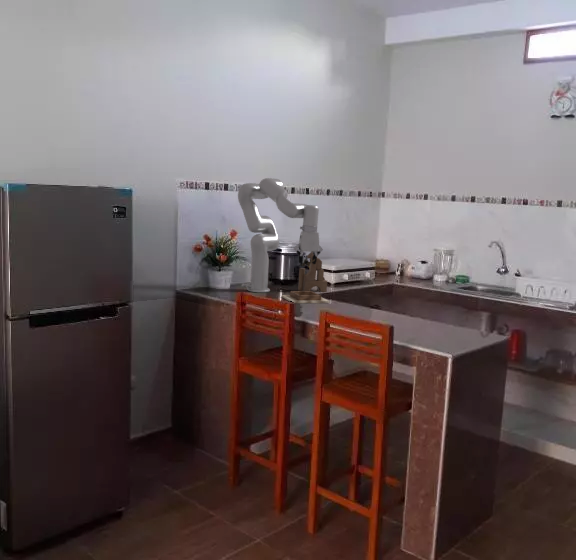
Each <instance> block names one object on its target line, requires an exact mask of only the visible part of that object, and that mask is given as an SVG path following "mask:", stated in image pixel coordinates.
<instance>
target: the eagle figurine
mask: <svg viewBox="0 0 576 560" xmlns="http://www.w3.org/2000/svg"><path fill="white" fill-rule="evenodd" d="M307 255H308V254H307ZM307 255H305V258H303V264H300V263H299V264H298V266H297V267H298V268H305V267H306V266H307V268H310V264H311V263H312V262H313V261H314V260H315V259H314V260H313V261H311V259H310V258H307Z"/></svg>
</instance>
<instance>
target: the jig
mask: <svg viewBox="0 0 576 560" xmlns="http://www.w3.org/2000/svg"><path fill="white" fill-rule="evenodd" d="M281 298H283V299H285V300H286V301H288V302H290V301H292V302H294V303H293V304H330V300H328V299H326V298H324V297H322V295H321V294H319V293H317V292H315V291H311V290H310V291H299V290H291V291H289V294H281ZM292 302H291V303H292Z"/></svg>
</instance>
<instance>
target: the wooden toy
mask: <svg viewBox="0 0 576 560" xmlns="http://www.w3.org/2000/svg"><path fill="white" fill-rule="evenodd" d="M313 256H314V254H313V252H310V253H308V254H307V258H308V259H309V260H310V259H311V261H312V258H313ZM322 268H323V261H322V260H321V258H319V257H317V260H316V264H313V263H311V264H310V268H309V269H308V271H307V273H306V268H305V267H302V268H301V267H299V269H298V271H299V272H298V290H297V291H311V290H312V289H313V288H315V287H316V290H317V291H318V290H319V291H318V292H320V291H321V292H320V293H327V292H328V291H327V290H328V281H327V280H326V279H325V276H324V273H325V270H324V269H322Z"/></svg>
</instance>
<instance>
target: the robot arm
mask: <svg viewBox="0 0 576 560" xmlns="http://www.w3.org/2000/svg"><path fill="white" fill-rule="evenodd" d="M237 192H238V193H237V199H238V203H239V206H240V208H241V210H242V212H243V216H244V220H245V223H246V225H247V228H248V230H249V232H250V233H253V234H254V235H253V236H252V237H251V239H250V249H251V250H250V251H251V264H250V265H251V266H250V281H248V282H247V283H241V287H242V288H246V289H247V291H248V292H252V293H269V292H270V291H271V289H270V288H269V287H268V279H269V262H270V261H269V255H268V252H271V251H276V250H277V249H278V248H279V246H280V239H279V236H278V235H279V234H278V232H277V228H276V225H275V224H274V221H273V220H272V218H271V217H270V216H267V215H261V213H260V210H259V207H258V206H257V204H256V202H254V200H264V199H268V198H269V199H270V200H272V202H274V203H275V205H276V207H277V209H278V211H280V212H281V213H282V214H283V215H285V216H286V217H288V218H289V219H303V221H302V226H300V227H299V229H300V230H301V232H300V236H299V240H298V244H296V245H295V246H294V247H293V250H294V252H295V253H296V254H297V255H298V263H299V265H300V264H303V259H304V256H303V255H304V253H305V252H310V253H311V252H313V254H314V256H313V258H312V261H313V260H314V259H315V260H314V261H313V262H312V263H313V264H316V260H317V258H318V256H319V255H320V254H321V253H322V252H323V250H324V249H323V247H321V245H320V235H319V234H320V233H319V232H318V225H319V210H320V208H319V206H318V205H314V204H312V205H311V204H307V203H306V204H305V203H293V202H291V201H290V200H288V199H287V198H288V195H289V194H288V191H287V190H286V189H285V187H284V183H283V182H282V180H280V179H278V178H271V177H270V178H269V177H267V178H263V179H262V180H260V182H259V183H256V182H253V183H252V182H249V183H247V182H246V183H244V184H242V185H241V186H240V187H239V189H238V191H237Z"/></svg>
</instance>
